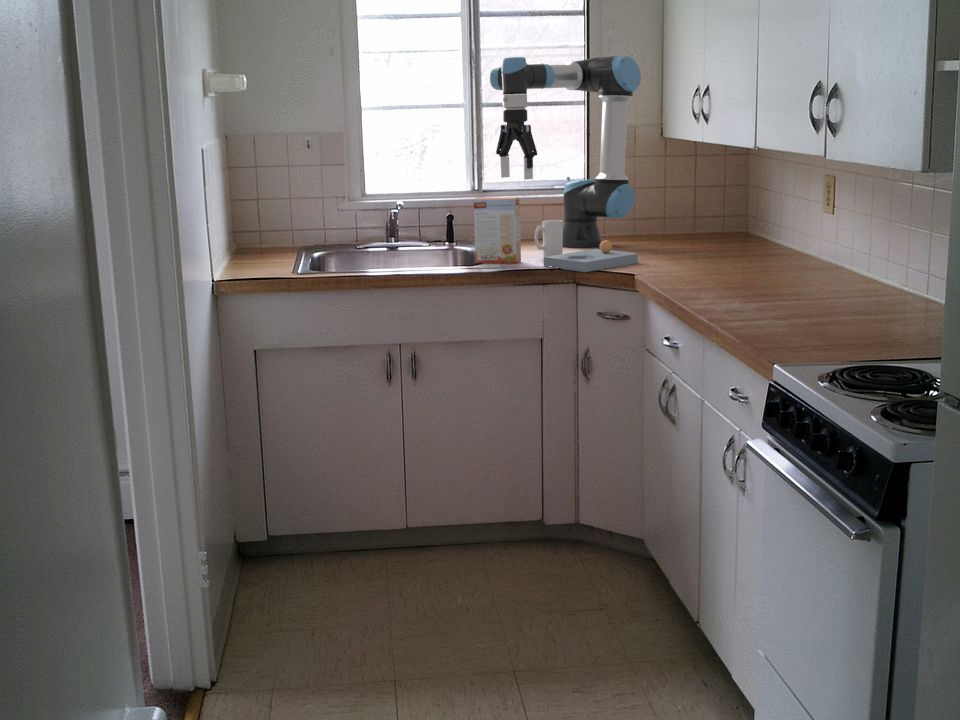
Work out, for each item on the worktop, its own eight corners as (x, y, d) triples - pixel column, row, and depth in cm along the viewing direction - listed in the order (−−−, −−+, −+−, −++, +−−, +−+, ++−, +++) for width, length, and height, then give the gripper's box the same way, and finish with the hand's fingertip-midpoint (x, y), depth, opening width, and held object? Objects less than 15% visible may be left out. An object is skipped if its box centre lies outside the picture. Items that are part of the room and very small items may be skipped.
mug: (557, 255, 351) (557, 219, 349) (566, 257, 345) (566, 221, 342) (530, 257, 348) (529, 221, 345) (539, 260, 342) (538, 223, 339)
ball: (605, 251, 335) (605, 239, 334) (614, 252, 332) (614, 240, 331) (597, 252, 332) (597, 240, 331) (606, 254, 329) (606, 241, 328)
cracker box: (521, 261, 339) (520, 196, 334) (516, 264, 334) (515, 198, 329) (480, 260, 344) (478, 196, 339) (474, 263, 338) (473, 198, 333)
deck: (595, 257, 343) (595, 248, 342) (637, 262, 329) (637, 253, 329) (543, 266, 327) (543, 257, 327) (585, 272, 314) (585, 262, 313)
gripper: (484, 109, 331) (486, 177, 336) (526, 108, 310) (528, 180, 315) (504, 108, 335) (506, 175, 340) (547, 108, 314) (549, 179, 319)
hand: (516, 178), depth 328 cm, fingers open, 13 cm apart
